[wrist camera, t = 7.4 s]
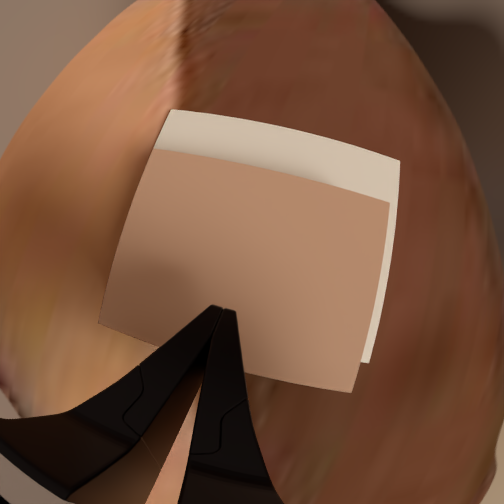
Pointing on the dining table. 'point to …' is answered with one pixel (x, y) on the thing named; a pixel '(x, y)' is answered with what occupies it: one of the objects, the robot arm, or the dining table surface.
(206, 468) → the robot arm
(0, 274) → the dining table surface
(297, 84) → the dining table surface
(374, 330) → the mat
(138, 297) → the tile
